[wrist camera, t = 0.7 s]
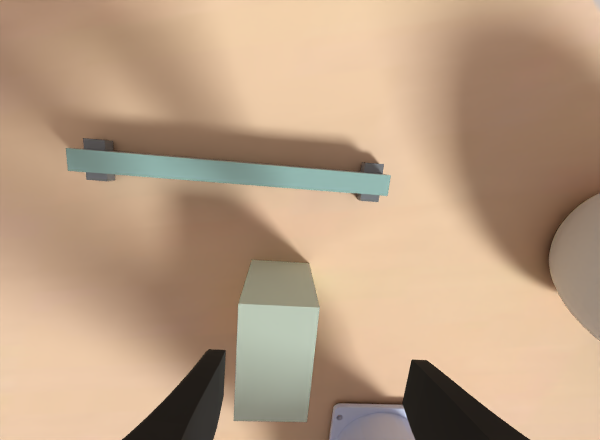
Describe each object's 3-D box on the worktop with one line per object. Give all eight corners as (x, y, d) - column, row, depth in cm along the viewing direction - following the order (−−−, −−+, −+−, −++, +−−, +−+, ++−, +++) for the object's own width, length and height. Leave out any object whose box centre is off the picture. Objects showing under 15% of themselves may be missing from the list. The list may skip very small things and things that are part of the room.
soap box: (300, 349, 21) (306, 421, 15) (247, 347, 21) (233, 420, 15) (309, 262, 20) (319, 307, 14) (251, 259, 19) (237, 303, 14)
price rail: (374, 200, 19) (386, 205, 17) (95, 178, 18) (69, 181, 15) (379, 163, 18) (392, 165, 16) (92, 139, 17) (64, 136, 15)
